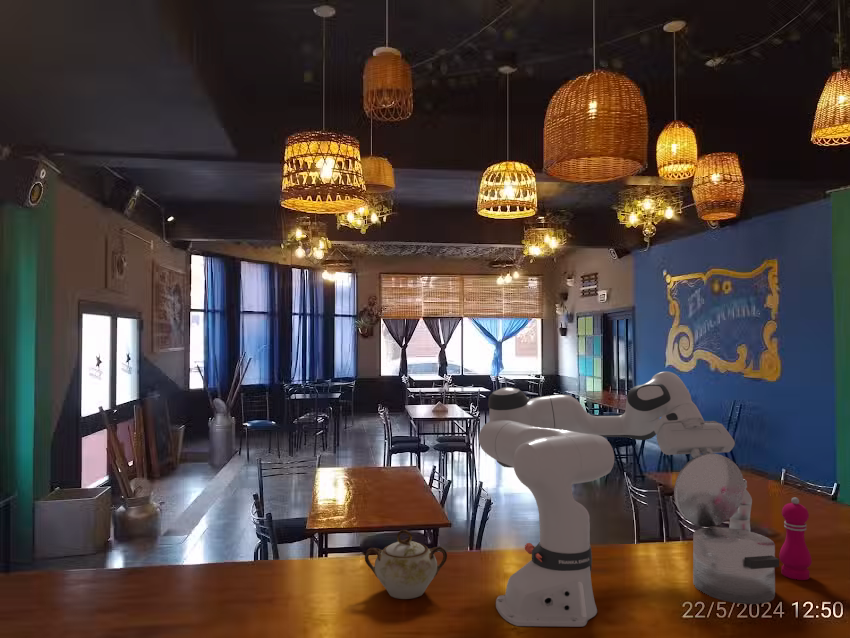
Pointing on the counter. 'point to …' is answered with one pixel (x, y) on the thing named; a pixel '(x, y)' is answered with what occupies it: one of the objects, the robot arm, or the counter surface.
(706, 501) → the cooker lid
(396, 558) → the sugar bowl
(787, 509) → the pepper mill
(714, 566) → the cooker pot
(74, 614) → the counter surface
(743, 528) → the silver metal bottle
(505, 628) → the counter surface
